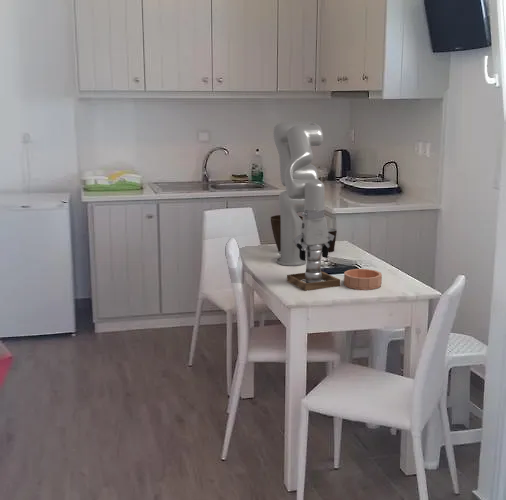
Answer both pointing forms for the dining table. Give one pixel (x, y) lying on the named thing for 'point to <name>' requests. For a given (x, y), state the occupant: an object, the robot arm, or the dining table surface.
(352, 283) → the terracotta bowl
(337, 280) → the brown picture frame
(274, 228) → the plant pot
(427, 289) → the dining table surface
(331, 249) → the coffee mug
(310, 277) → the grey metal bulbous cylinder
